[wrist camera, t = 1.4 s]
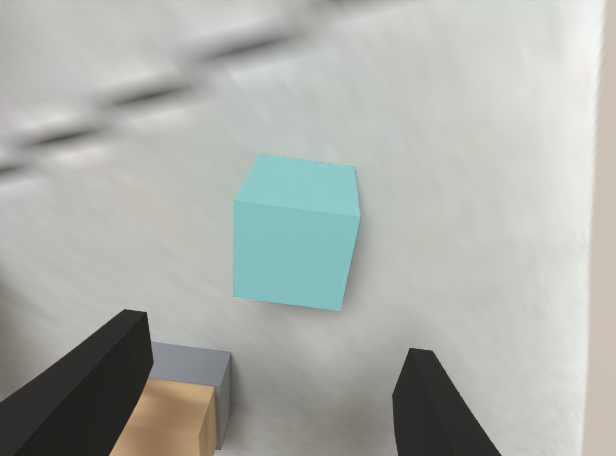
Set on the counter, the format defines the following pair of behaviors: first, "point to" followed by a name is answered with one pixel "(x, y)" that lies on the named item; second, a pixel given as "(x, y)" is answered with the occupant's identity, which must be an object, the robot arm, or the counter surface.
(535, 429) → the counter surface
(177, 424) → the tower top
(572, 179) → the counter surface
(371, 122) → the counter surface
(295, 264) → the teal block
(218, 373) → the tower base
